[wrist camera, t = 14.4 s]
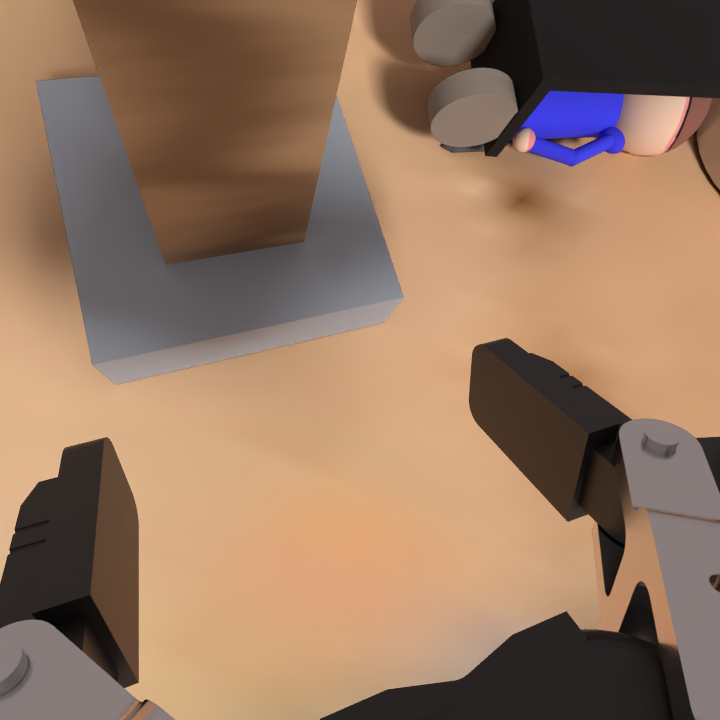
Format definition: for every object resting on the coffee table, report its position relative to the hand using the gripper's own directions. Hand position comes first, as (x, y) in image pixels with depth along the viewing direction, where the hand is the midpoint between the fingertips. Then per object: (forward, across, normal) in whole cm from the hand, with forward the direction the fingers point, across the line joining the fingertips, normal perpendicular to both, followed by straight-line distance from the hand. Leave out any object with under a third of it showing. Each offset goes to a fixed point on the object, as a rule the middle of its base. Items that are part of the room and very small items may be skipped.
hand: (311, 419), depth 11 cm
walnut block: (+11, 0, -2) cm, 12 cm away
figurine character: (+16, -17, -2) cm, 23 cm away
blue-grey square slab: (+13, 0, 0) cm, 13 cm away
